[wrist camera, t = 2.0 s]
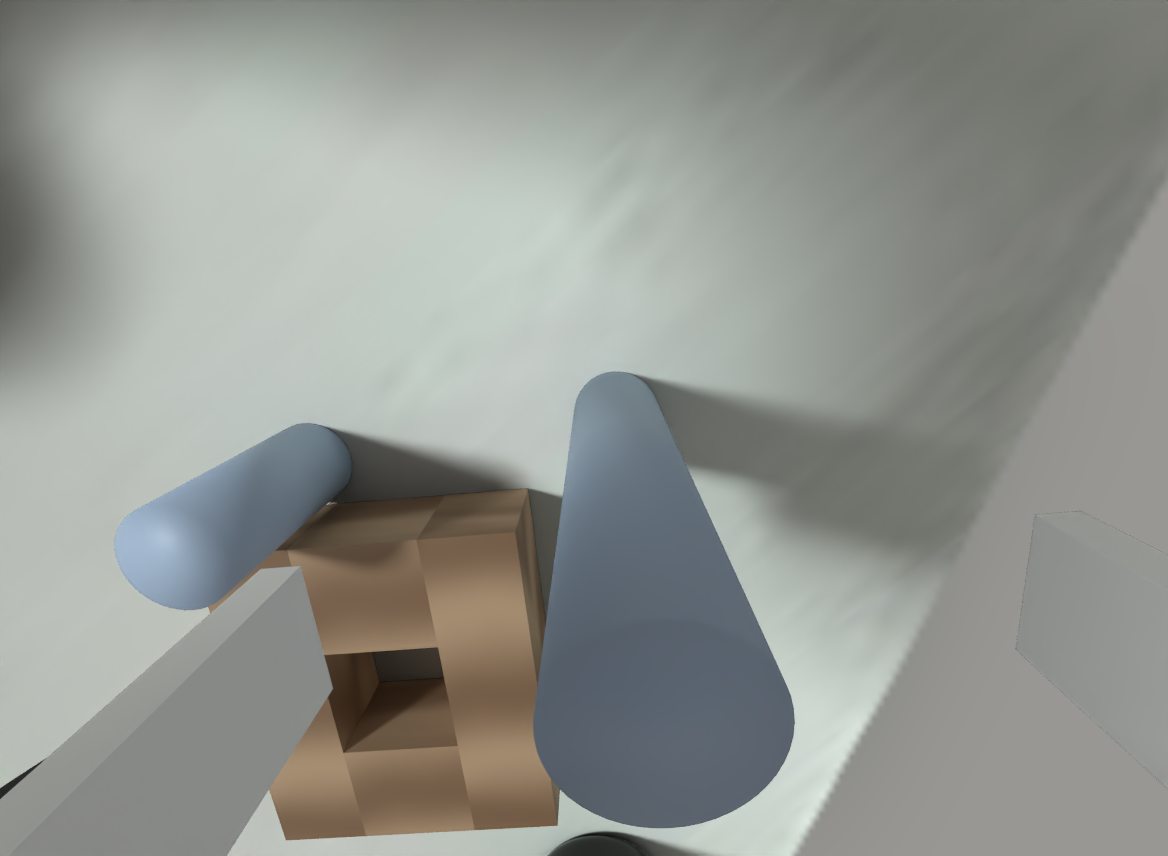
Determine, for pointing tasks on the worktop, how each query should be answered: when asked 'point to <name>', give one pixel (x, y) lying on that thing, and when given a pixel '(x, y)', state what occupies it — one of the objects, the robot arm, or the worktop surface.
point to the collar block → (430, 706)
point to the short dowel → (230, 517)
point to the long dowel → (650, 634)
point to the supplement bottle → (597, 847)
